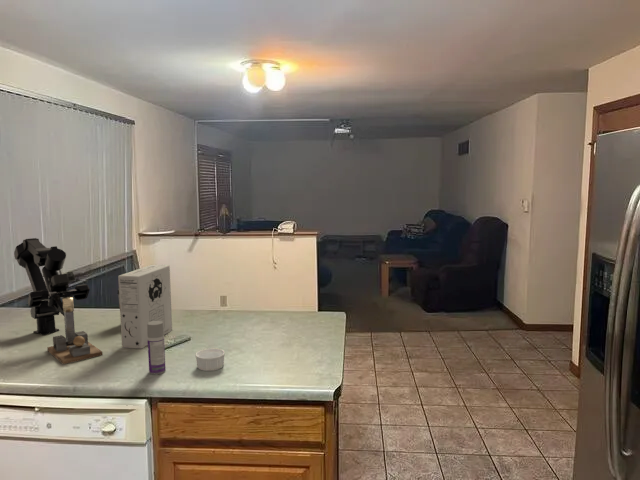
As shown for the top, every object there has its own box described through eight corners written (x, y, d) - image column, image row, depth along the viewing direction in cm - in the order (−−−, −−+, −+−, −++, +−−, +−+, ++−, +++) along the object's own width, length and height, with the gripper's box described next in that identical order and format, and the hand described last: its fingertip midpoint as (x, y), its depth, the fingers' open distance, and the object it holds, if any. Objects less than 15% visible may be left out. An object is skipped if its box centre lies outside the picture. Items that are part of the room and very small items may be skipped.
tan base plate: (47, 350, 173) (46, 330, 172) (84, 342, 181) (83, 323, 180) (63, 364, 160) (61, 342, 159) (102, 355, 168) (101, 334, 167)
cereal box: (154, 329, 197) (151, 264, 193) (172, 330, 195) (170, 265, 192) (121, 347, 176) (117, 275, 172) (141, 349, 174) (138, 276, 171)
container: (151, 368, 156) (148, 320, 154) (167, 368, 156) (164, 320, 155) (147, 374, 151) (144, 325, 150) (163, 374, 152) (161, 324, 150)
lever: (63, 345, 173) (60, 298, 171) (75, 342, 175) (71, 296, 173) (66, 347, 171) (63, 299, 168) (78, 345, 173) (75, 298, 171)
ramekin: (226, 370, 155) (226, 356, 154) (196, 373, 153) (196, 359, 152) (223, 360, 163) (223, 346, 163) (194, 363, 161) (194, 349, 160)
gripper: (27, 268, 170) (38, 306, 163) (86, 261, 182) (99, 297, 175) (23, 288, 176) (34, 326, 170) (80, 280, 189) (92, 315, 182)
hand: (66, 315), depth 174 cm, fingers closed
